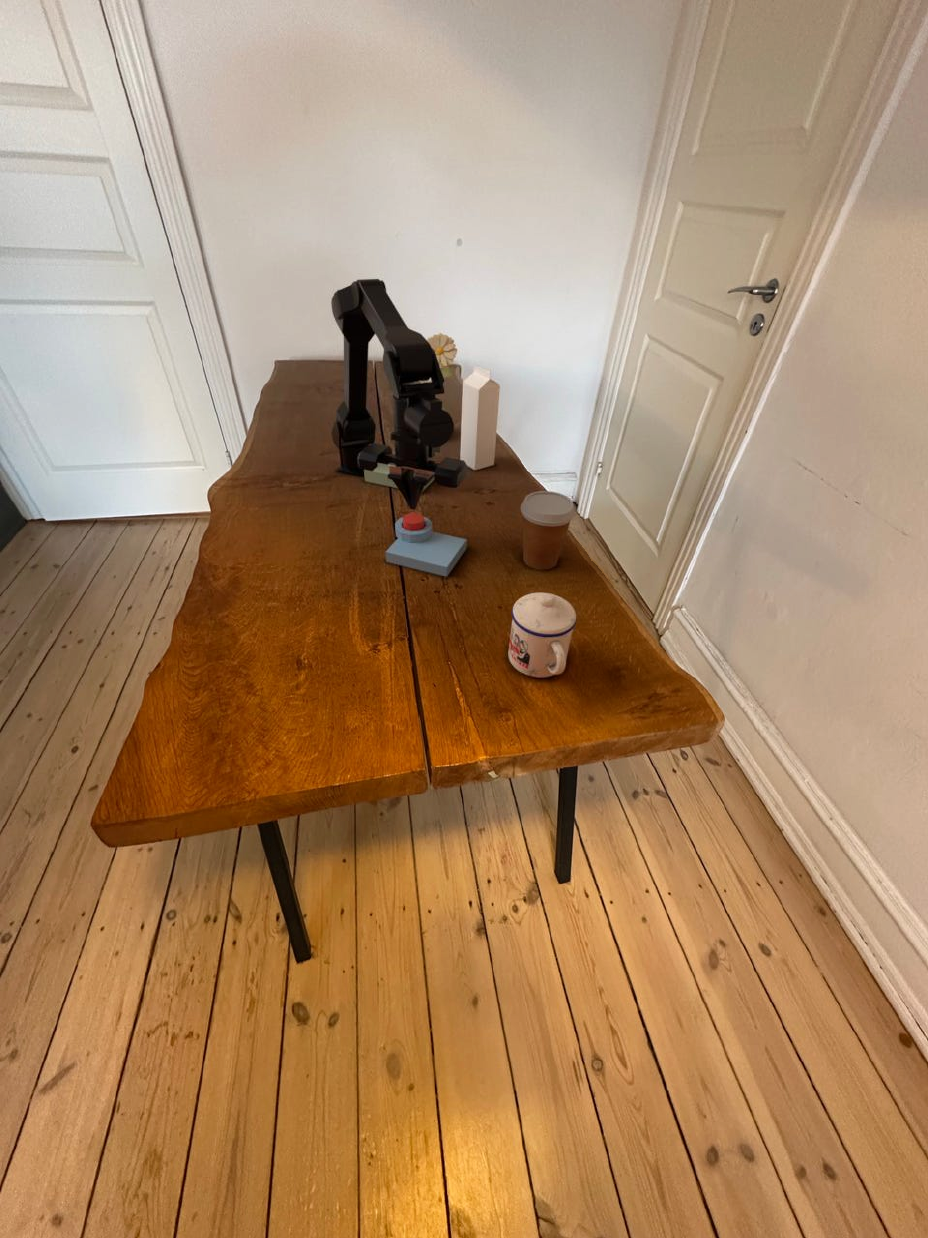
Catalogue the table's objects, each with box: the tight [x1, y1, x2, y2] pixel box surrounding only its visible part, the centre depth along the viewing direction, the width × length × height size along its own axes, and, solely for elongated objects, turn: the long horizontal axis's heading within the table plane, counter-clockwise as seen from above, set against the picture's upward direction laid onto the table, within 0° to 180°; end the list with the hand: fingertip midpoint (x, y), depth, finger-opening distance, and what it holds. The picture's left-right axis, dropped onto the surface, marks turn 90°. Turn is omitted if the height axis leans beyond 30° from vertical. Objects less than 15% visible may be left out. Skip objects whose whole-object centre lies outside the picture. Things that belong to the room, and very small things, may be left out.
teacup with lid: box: [507, 592, 578, 678], centre depth 77 cm, size 12×9×12 cm
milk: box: [459, 364, 501, 471], centre depth 127 cm, size 6×6×22 cm
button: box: [402, 512, 425, 531], centre depth 103 cm, size 4×4×2 cm
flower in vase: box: [419, 332, 458, 384], centre depth 139 cm, size 13×11×25 cm
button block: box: [385, 516, 468, 577], centre depth 102 cm, size 13×12×4 cm
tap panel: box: [363, 463, 435, 493], centre depth 125 cm, size 15×11×3 cm
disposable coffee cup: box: [520, 490, 576, 571], centre depth 99 cm, size 10×10×12 cm
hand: (413, 508), depth 101 cm, fingers closed
